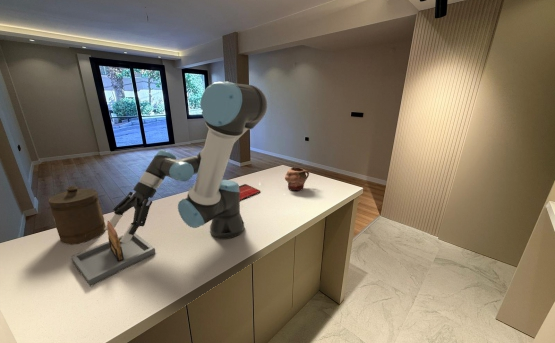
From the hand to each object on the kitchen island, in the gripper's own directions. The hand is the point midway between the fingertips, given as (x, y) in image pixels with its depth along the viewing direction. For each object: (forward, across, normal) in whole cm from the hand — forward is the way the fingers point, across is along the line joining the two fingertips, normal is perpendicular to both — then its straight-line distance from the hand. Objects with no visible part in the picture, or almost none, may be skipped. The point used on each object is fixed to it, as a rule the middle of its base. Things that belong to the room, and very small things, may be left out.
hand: (115, 236), depth 82 cm
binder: (-41, +2, -57) cm, 70 cm away
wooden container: (+7, +25, -2) cm, 26 cm away
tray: (+7, -2, -3) cm, 8 cm away
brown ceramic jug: (-61, -21, -79) cm, 102 cm away
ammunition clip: (+6, -1, -4) cm, 7 cm away
